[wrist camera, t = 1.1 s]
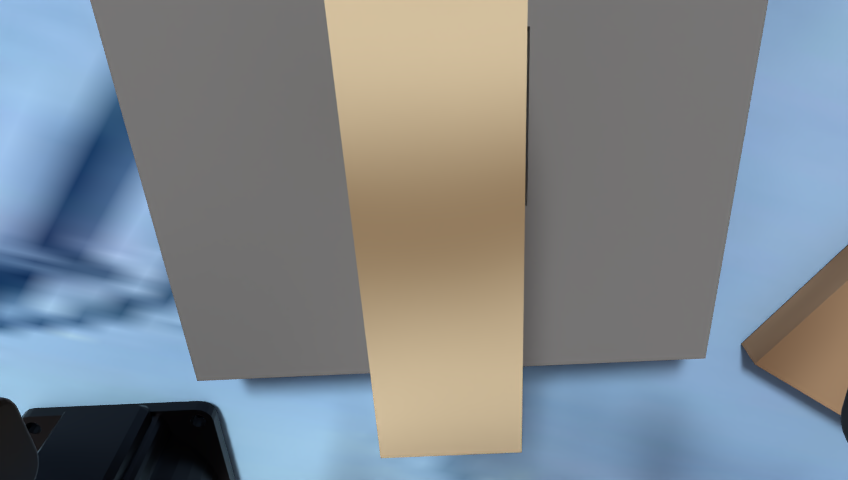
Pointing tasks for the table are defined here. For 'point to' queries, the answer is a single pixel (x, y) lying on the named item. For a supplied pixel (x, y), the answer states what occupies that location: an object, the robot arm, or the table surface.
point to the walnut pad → (810, 337)
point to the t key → (437, 213)
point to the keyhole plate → (544, 176)
